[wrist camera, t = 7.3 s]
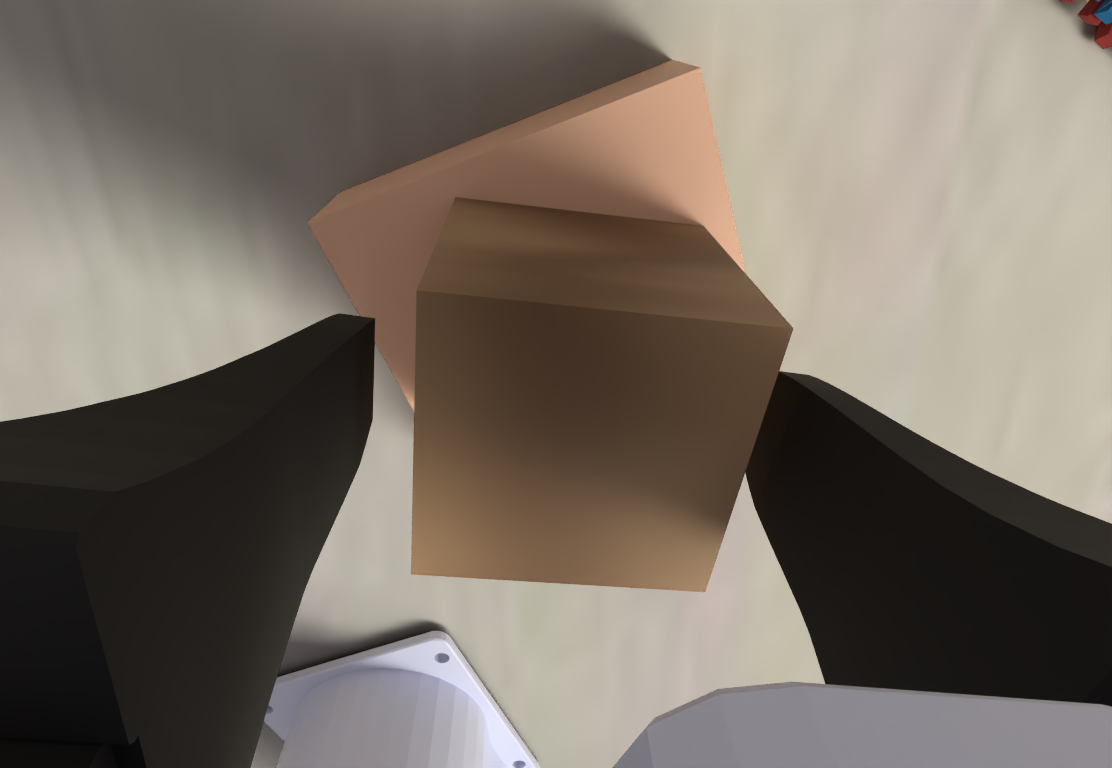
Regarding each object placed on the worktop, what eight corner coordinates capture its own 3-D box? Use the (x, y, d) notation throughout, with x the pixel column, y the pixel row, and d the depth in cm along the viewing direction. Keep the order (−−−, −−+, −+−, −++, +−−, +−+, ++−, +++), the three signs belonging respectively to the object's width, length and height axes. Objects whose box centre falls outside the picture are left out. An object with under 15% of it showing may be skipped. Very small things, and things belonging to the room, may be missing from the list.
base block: (741, 358, 18) (777, 416, 15) (478, 444, 19) (470, 512, 16) (668, 58, 14) (699, 67, 11) (344, 188, 15) (306, 222, 13)
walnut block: (703, 226, 13) (792, 328, 9) (654, 430, 15) (705, 592, 11) (455, 197, 12) (416, 290, 8) (445, 413, 15) (411, 574, 10)
